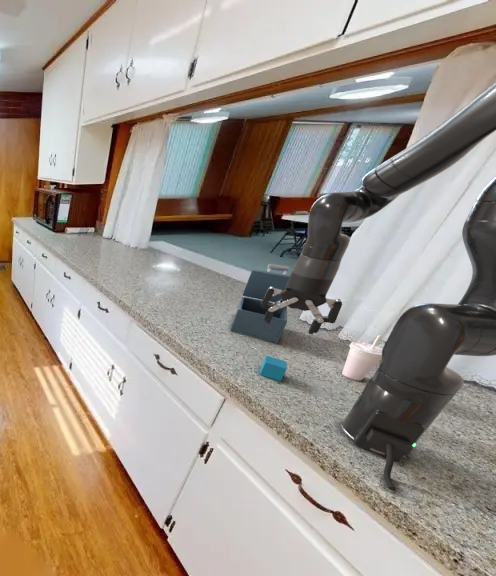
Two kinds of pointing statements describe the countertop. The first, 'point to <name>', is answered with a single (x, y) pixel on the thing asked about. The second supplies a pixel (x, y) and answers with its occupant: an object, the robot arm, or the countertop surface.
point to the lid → (266, 282)
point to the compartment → (258, 320)
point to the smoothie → (362, 359)
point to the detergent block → (273, 368)
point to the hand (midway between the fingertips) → (288, 327)
